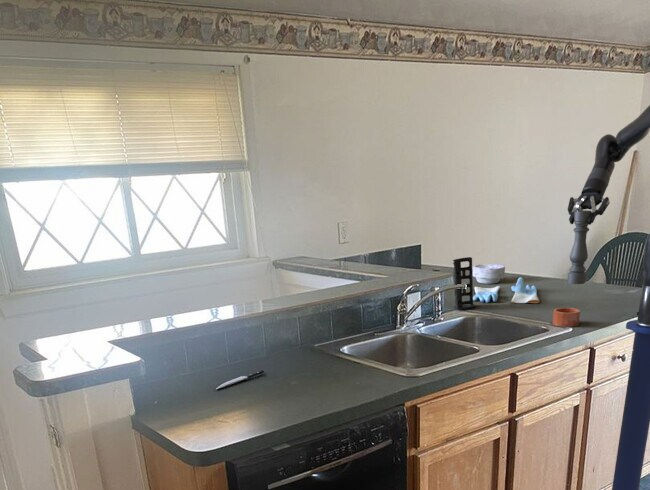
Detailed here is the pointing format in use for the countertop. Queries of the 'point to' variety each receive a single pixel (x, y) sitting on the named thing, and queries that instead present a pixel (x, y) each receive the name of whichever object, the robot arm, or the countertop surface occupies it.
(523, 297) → the rubber gloves
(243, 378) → the chef's knife
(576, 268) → the candle holder
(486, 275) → the paper bowls
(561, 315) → the holder cup
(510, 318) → the countertop surface
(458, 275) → the holder
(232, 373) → the countertop surface
